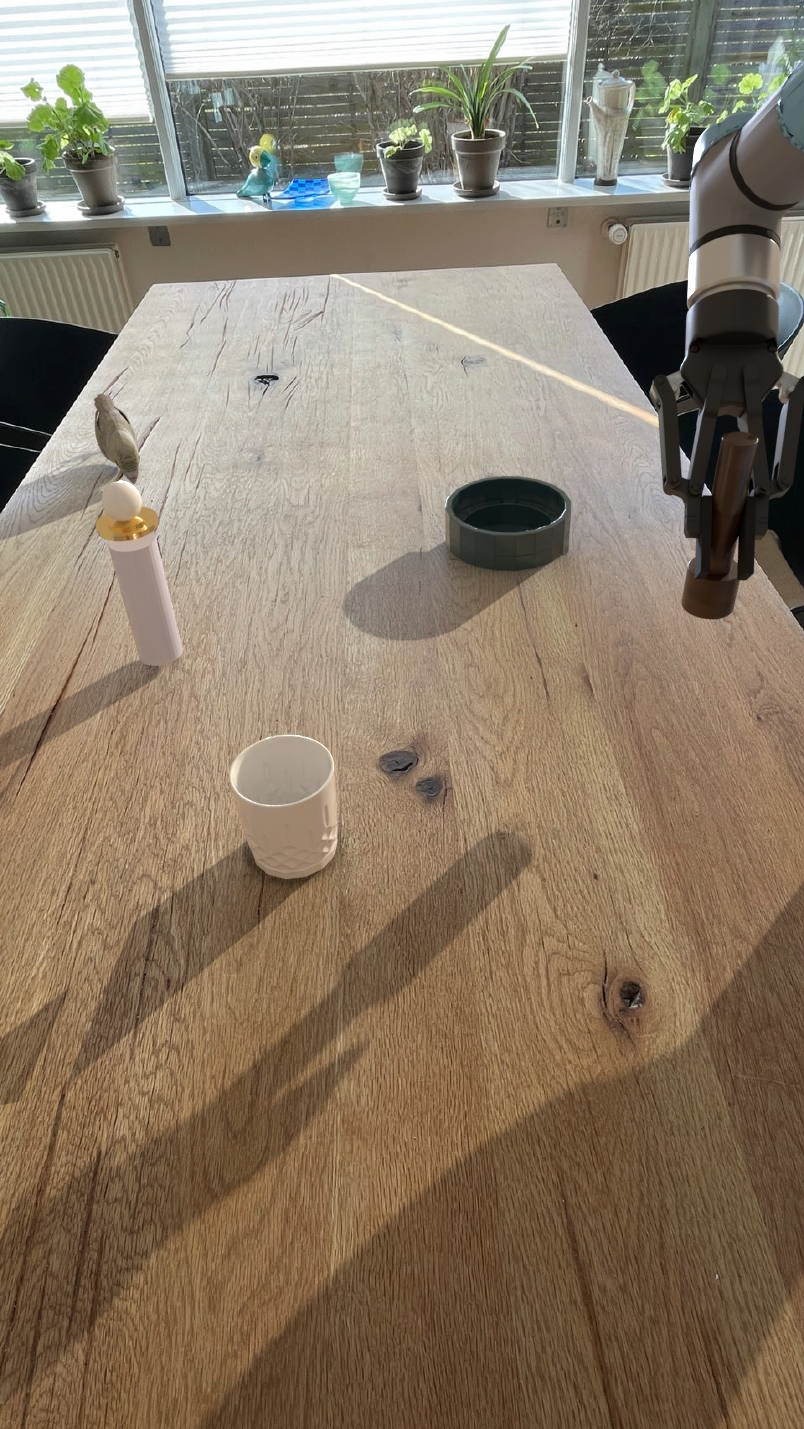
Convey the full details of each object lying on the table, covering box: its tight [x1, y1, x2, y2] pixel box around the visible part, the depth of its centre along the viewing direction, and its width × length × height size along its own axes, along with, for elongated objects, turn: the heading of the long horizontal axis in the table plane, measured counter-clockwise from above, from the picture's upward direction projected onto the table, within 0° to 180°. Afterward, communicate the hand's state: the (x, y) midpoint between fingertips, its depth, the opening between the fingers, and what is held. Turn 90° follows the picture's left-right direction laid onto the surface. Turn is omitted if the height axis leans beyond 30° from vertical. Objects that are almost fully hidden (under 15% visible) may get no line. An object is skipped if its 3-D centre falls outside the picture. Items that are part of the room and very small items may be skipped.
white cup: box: [228, 734, 339, 880], centre depth 74 cm, size 8×8×10 cm
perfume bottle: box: [95, 480, 184, 667], centre depth 93 cm, size 6×6×20 cm
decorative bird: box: [93, 393, 141, 485], centre depth 135 cm, size 5×16×7 cm, turn 24°
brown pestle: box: [680, 430, 758, 620], centre depth 81 cm, size 5×5×16 cm
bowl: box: [444, 475, 572, 572], centre depth 111 cm, size 14×14×6 cm
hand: (723, 575), depth 80 cm, fingers closed on brown pestle, 3 cm apart
